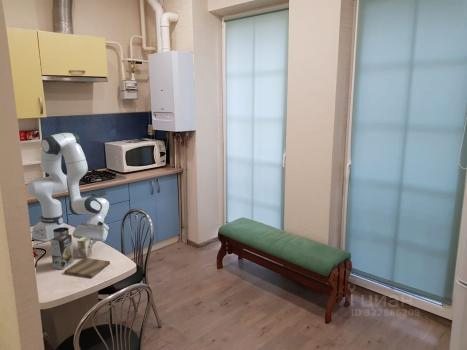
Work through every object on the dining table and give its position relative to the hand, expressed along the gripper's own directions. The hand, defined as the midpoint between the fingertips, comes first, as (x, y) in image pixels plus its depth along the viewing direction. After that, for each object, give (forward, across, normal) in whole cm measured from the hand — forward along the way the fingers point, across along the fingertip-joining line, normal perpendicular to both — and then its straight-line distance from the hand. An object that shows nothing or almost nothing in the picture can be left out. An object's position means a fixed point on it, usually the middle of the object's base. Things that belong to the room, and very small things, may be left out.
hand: (84, 246), depth 205 cm
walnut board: (+13, +11, -6) cm, 18 cm away
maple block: (+4, 0, +4) cm, 5 cm away
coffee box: (+13, -4, -5) cm, 15 cm away
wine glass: (+6, -13, +2) cm, 14 cm away
